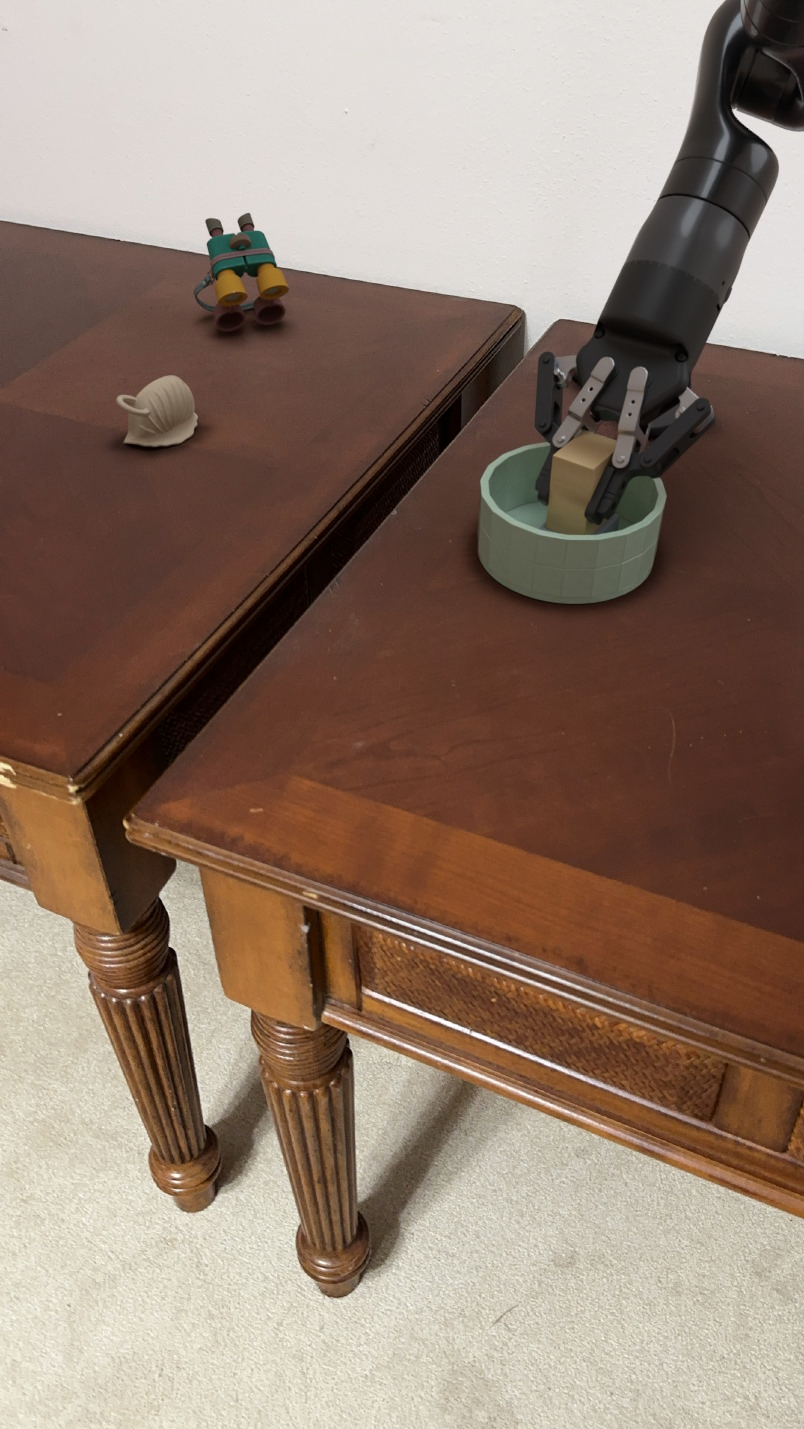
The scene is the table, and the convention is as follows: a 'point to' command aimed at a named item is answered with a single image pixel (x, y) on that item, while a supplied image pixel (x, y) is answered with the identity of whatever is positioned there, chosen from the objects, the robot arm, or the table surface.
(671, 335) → the robot arm
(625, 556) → the bowl
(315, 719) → the table surface
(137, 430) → the decorative ornament
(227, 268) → the binoculars
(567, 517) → the eraser
